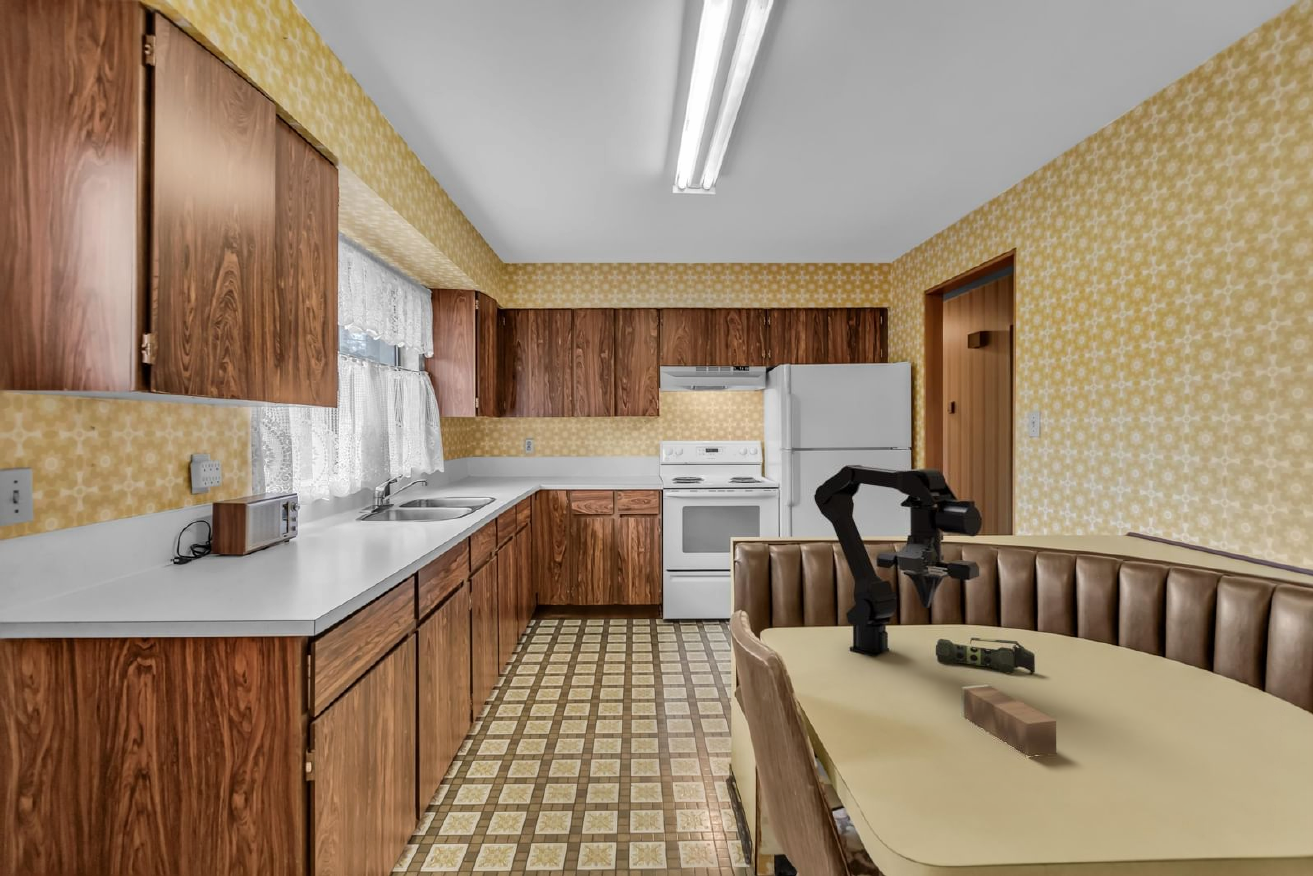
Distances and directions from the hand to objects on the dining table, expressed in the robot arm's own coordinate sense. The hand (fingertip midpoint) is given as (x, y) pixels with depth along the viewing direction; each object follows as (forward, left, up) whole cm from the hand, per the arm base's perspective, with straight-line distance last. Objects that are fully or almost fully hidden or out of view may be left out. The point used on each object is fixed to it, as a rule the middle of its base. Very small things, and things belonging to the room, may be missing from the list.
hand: (926, 607), depth 125 cm
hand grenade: (+7, +11, -14) cm, 19 cm away
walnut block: (+14, -14, -11) cm, 23 cm away
